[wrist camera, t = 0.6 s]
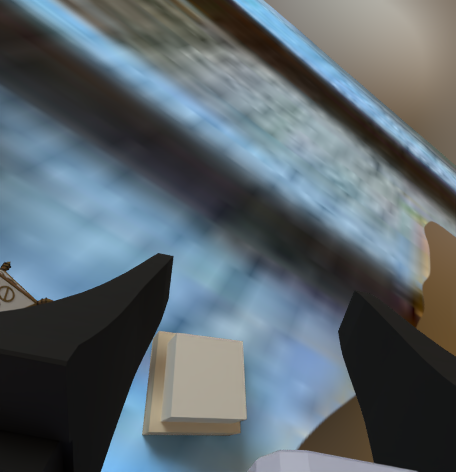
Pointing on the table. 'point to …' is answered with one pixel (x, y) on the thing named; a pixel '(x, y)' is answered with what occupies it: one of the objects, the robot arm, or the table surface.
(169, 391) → the cream block
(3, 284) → the game die
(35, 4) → the table surface
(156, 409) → the birch base block
